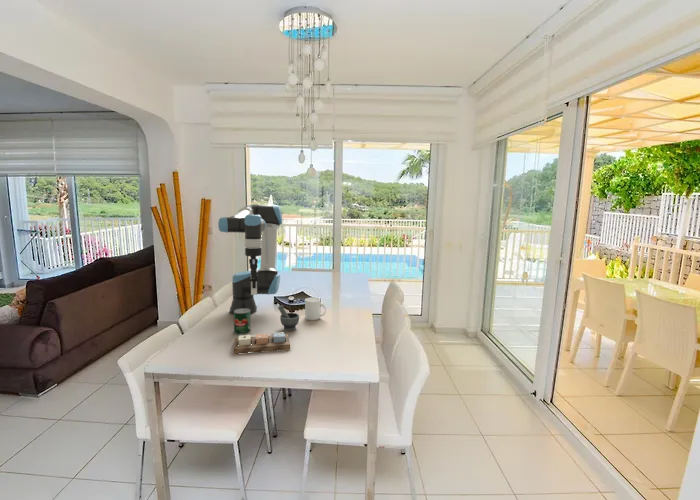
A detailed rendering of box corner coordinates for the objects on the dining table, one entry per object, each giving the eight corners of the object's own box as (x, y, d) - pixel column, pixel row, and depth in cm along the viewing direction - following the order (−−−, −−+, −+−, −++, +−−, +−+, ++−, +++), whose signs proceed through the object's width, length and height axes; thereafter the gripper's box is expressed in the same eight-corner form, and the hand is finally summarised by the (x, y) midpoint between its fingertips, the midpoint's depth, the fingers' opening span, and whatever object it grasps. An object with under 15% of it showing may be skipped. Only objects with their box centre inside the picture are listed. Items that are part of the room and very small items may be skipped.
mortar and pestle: (301, 326, 185) (301, 304, 183) (295, 332, 176) (296, 309, 174) (281, 324, 187) (281, 302, 185) (274, 330, 178) (274, 307, 176)
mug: (322, 322, 192) (323, 303, 190) (302, 319, 195) (302, 300, 194) (328, 317, 200) (328, 298, 198) (308, 314, 203) (308, 296, 202)
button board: (233, 354, 149) (233, 349, 149) (234, 343, 161) (234, 338, 161) (290, 349, 156) (290, 344, 156) (287, 339, 167) (287, 334, 167)
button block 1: (238, 346, 153) (238, 339, 153) (239, 341, 158) (238, 335, 157) (250, 345, 154) (250, 338, 154) (250, 341, 159) (250, 334, 159)
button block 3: (273, 343, 157) (273, 336, 157) (273, 339, 162) (273, 332, 161) (285, 342, 158) (285, 335, 158) (284, 338, 163) (284, 331, 163)
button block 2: (256, 344, 155) (256, 338, 155) (256, 340, 160) (256, 333, 159) (268, 344, 156) (268, 337, 156) (267, 339, 161) (267, 333, 161)
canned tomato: (235, 335, 170) (235, 313, 168) (232, 330, 177) (232, 309, 175) (252, 333, 173) (251, 311, 172) (248, 328, 180) (248, 307, 179)
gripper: (262, 251, 156) (262, 297, 159) (260, 243, 180) (261, 284, 183) (244, 251, 154) (245, 298, 157) (245, 244, 178) (246, 285, 181)
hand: (253, 291), depth 170 cm, fingers open, 12 cm apart
